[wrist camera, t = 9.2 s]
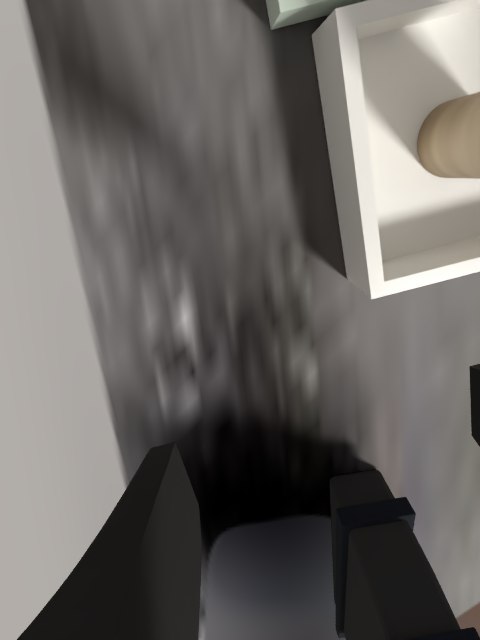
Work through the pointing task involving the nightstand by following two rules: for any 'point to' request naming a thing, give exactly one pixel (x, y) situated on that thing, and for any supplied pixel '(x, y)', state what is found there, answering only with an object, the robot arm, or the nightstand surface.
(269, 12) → the holder
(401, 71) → the tray
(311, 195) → the nightstand surface
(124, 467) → the nightstand surface
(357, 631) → the magazine
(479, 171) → the dowel
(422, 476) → the nightstand surface
